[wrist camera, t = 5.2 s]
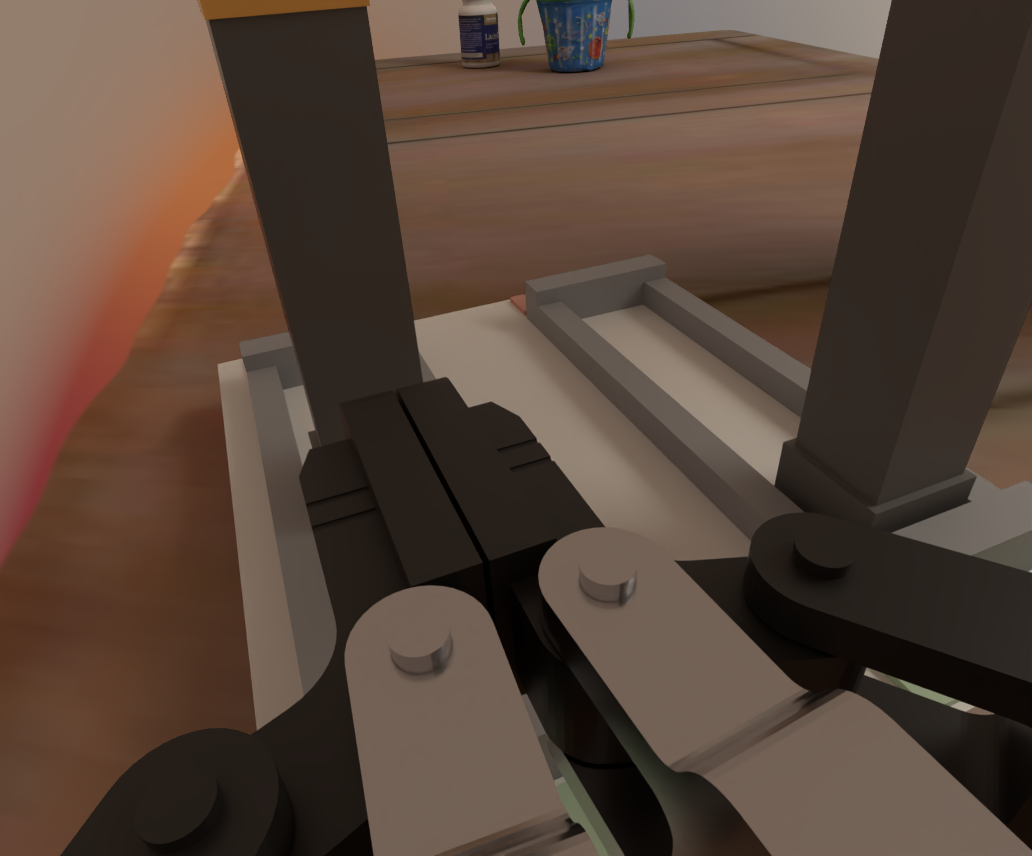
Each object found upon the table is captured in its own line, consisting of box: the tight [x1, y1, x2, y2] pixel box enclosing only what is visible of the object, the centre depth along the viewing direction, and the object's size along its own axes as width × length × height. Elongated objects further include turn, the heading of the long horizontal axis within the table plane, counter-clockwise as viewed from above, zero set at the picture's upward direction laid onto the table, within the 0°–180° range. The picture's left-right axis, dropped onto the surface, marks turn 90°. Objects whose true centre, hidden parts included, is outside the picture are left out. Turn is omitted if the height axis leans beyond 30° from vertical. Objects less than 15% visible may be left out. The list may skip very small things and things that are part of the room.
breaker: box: [198, 0, 423, 449], centre depth 16 cm, size 3×3×13 cm
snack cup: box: [518, 0, 634, 73], centre depth 94 cm, size 16×10×10 cm
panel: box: [218, 0, 1032, 856], centre depth 18 cm, size 22×19×15 cm
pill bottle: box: [459, 0, 500, 68], centre depth 102 cm, size 6×6×10 cm
